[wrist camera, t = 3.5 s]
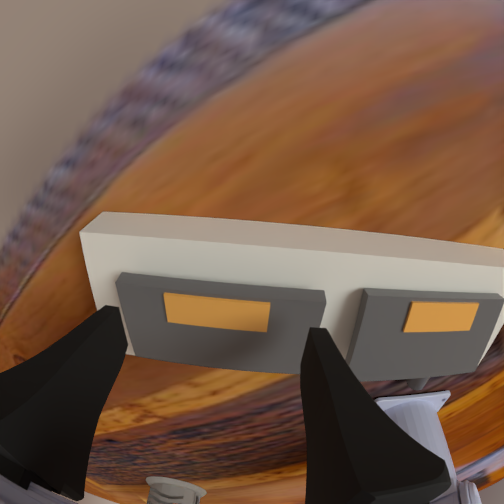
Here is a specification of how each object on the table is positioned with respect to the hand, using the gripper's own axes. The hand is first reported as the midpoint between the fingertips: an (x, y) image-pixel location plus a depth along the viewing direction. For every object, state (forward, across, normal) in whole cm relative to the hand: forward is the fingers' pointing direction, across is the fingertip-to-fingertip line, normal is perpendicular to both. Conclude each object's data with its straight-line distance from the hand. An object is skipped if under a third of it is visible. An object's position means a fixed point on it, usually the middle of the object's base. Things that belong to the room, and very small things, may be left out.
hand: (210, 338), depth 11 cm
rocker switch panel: (+6, -5, +3) cm, 9 cm away
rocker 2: (+2, -11, +2) cm, 11 cm away
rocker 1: (+2, 0, +2) cm, 3 cm away
